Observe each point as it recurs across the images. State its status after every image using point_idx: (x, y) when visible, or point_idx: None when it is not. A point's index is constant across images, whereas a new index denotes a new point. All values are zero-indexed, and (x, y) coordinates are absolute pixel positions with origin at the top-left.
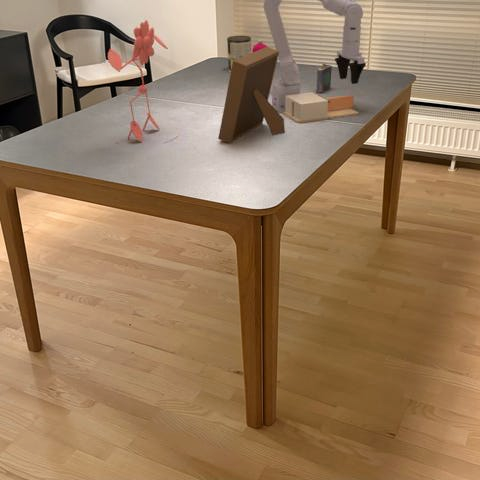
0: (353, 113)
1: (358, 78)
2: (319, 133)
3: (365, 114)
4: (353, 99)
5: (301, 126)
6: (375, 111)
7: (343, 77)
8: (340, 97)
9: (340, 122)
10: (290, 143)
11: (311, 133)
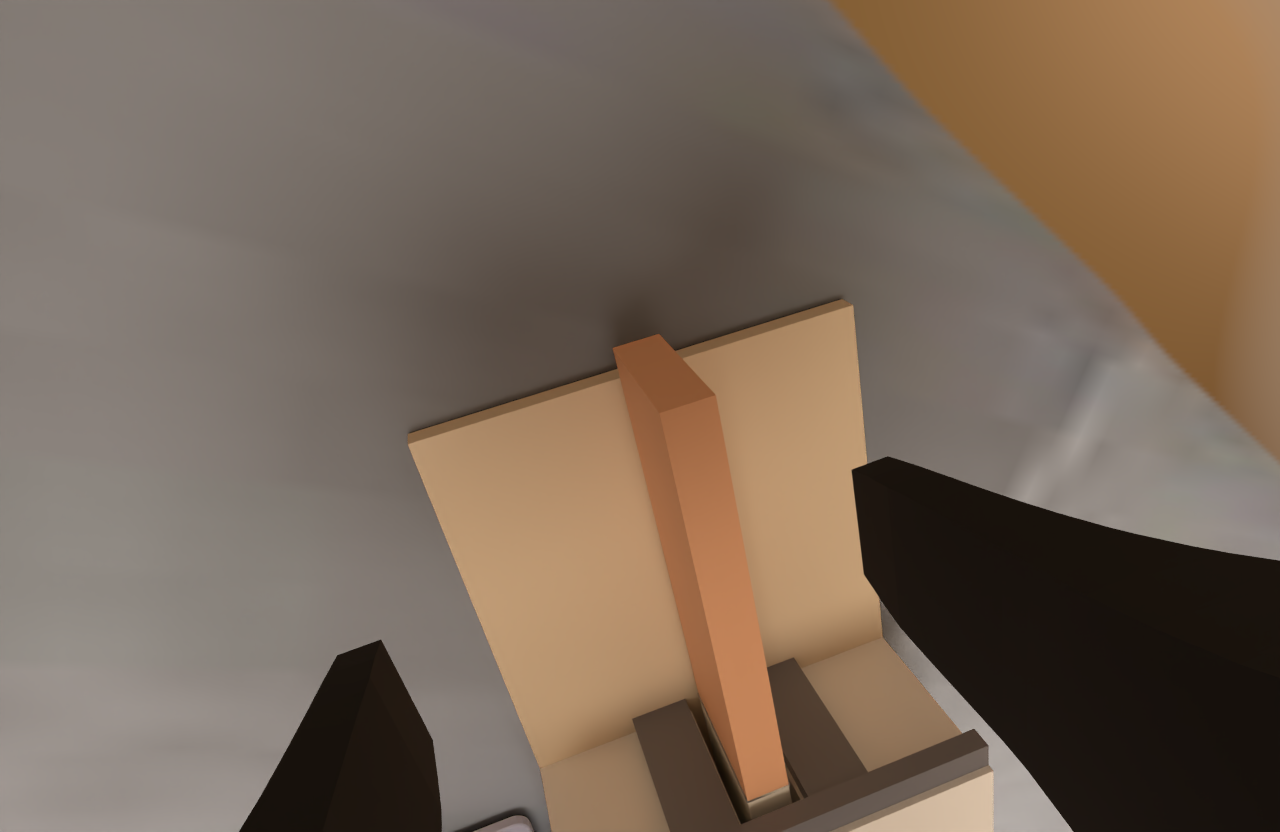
0: (858, 370)
1: (974, 502)
2: None
3: (873, 211)
4: (694, 372)
5: None
6: (798, 19)
7: (412, 720)
8: (751, 593)
9: None
10: None
11: None
